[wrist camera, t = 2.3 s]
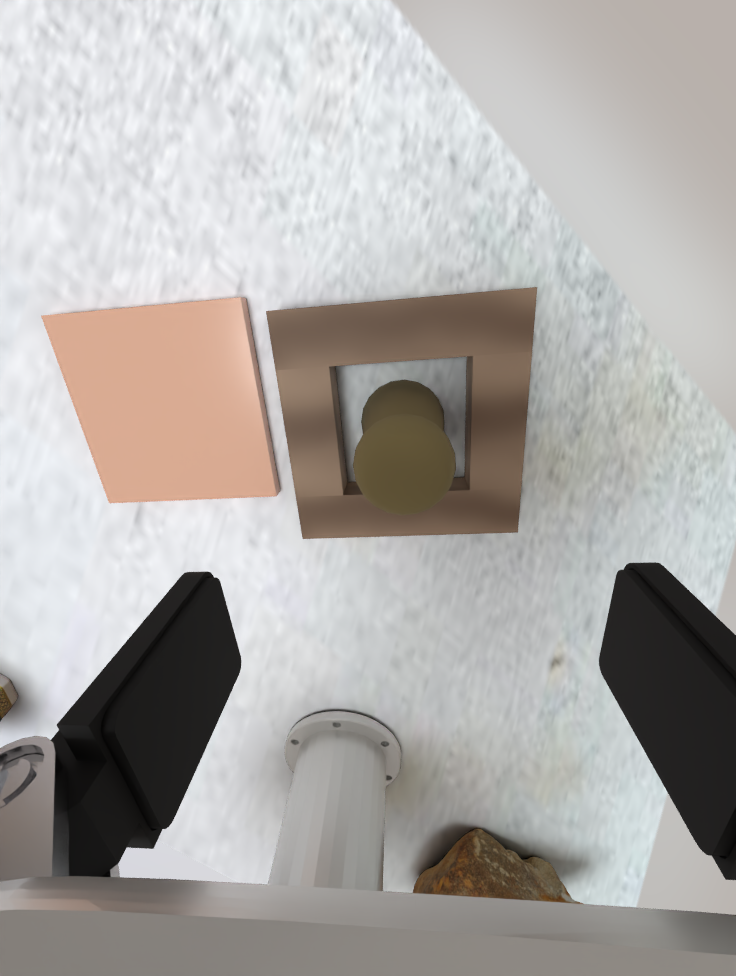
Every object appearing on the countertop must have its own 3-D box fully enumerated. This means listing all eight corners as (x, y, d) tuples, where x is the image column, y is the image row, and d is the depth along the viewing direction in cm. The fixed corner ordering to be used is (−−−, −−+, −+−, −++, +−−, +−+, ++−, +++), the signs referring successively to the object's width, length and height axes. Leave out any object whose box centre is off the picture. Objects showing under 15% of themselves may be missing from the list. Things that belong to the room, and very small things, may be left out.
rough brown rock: (526, 784, 45) (567, 982, 31) (601, 870, 48) (670, 1086, 34) (368, 837, 52) (345, 1014, 39) (442, 908, 55) (445, 1097, 42)
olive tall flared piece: (414, 362, 27) (424, 386, 17) (460, 433, 29) (493, 493, 19) (344, 411, 29) (315, 461, 19) (391, 476, 30) (387, 553, 20)
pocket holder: (508, 516, 31) (517, 532, 29) (309, 523, 33) (302, 538, 30) (524, 290, 25) (537, 287, 23) (277, 312, 26) (265, 311, 24)
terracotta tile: (280, 491, 32) (276, 496, 31) (117, 498, 33) (109, 503, 32) (245, 298, 26) (240, 297, 25) (53, 315, 28) (41, 315, 27)
